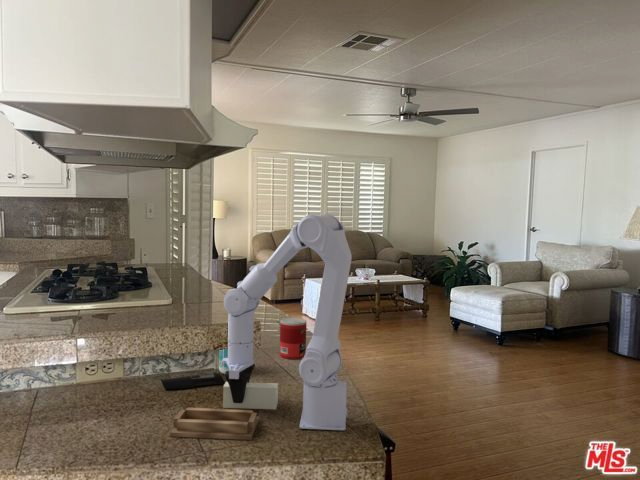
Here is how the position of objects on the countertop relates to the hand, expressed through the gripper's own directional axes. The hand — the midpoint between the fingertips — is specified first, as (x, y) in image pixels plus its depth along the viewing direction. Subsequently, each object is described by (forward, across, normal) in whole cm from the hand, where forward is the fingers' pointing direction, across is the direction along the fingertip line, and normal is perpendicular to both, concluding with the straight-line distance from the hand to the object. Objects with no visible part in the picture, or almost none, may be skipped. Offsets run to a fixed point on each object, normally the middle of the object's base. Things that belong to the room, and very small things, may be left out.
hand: (239, 399), depth 115 cm
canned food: (+2, -39, +8) cm, 40 cm away
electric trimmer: (+2, -11, -14) cm, 18 cm away
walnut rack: (+1, +12, -2) cm, 12 cm away
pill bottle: (+2, -23, -6) cm, 24 cm away
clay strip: (+2, 0, +2) cm, 3 cm away
